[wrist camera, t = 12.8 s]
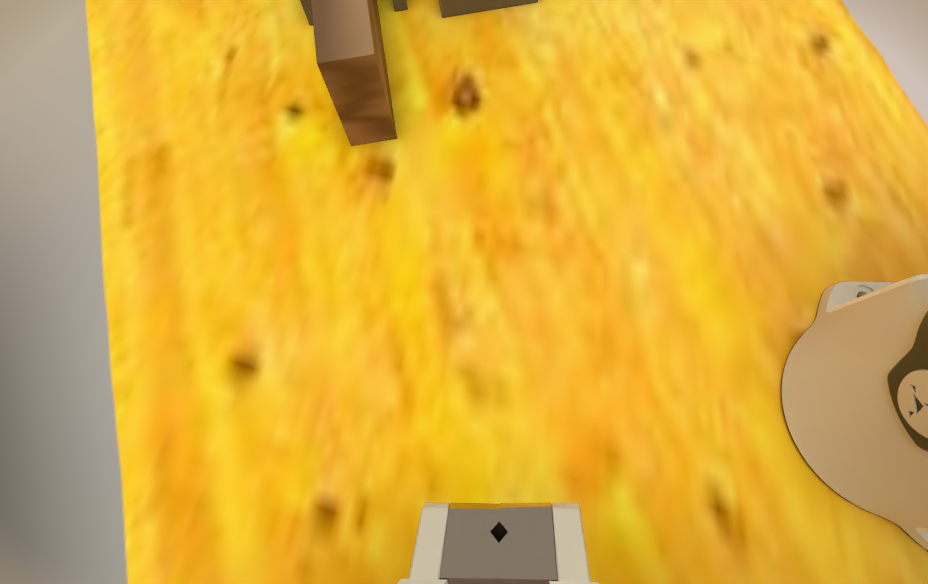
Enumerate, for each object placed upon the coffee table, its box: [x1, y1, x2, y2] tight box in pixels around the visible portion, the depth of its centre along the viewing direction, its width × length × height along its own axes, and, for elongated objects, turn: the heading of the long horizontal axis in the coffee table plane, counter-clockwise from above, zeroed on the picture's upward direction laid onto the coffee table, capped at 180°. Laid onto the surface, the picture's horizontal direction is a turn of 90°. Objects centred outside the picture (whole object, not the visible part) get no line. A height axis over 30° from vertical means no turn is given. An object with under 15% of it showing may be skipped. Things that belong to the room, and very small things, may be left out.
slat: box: [311, 0, 397, 146], centre depth 45 cm, size 4×20×10 cm, turn 9°
